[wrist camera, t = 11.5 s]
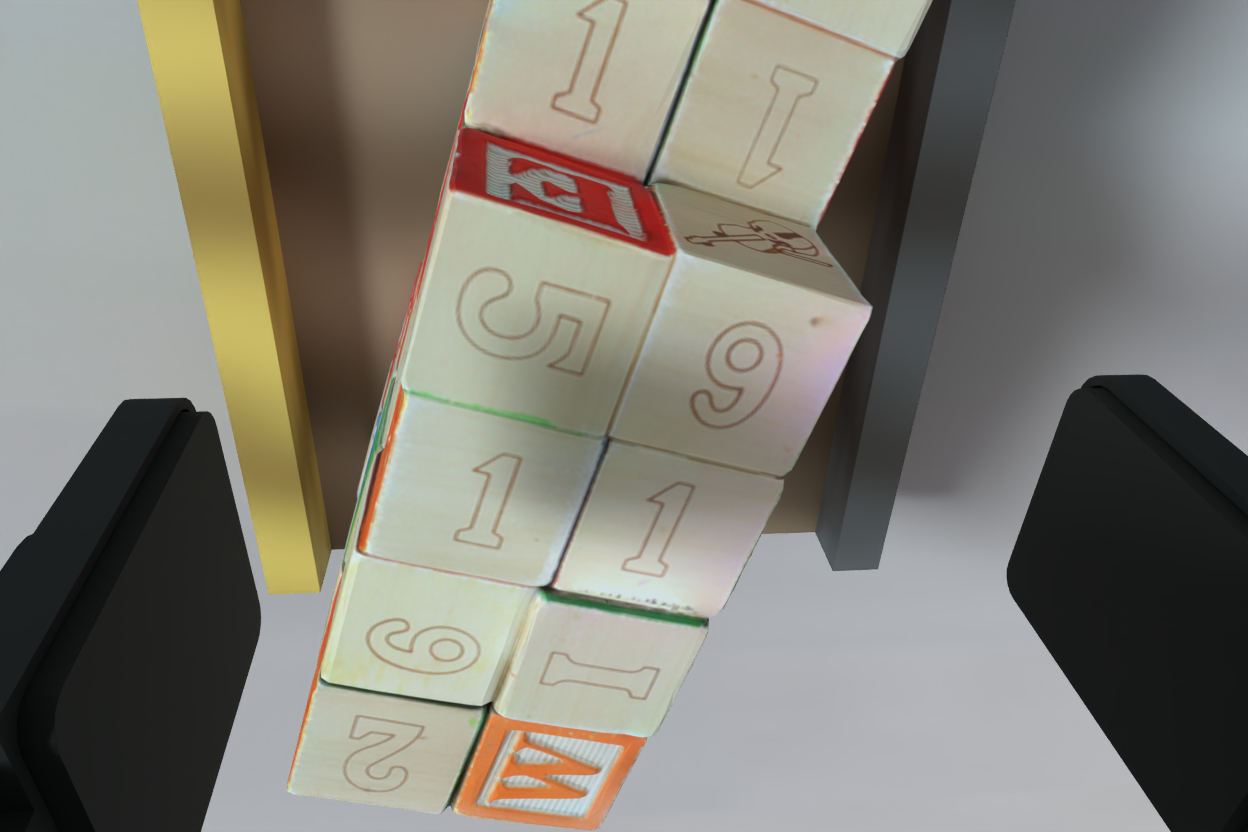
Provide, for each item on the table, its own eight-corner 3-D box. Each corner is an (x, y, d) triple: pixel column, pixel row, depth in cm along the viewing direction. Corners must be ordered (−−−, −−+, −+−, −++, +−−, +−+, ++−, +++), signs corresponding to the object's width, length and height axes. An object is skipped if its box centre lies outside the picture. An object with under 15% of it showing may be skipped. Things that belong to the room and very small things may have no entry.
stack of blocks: (606, -463, 17) (752, -985, 7) (888, -313, 19) (1361, -541, 8) (369, 442, 27) (276, 808, 16) (567, 489, 29) (598, 847, 18)
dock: (121, -500, 18) (2, -611, 14) (1006, -424, 20) (1136, -500, 16) (301, 495, 31) (268, 594, 27) (831, 479, 33) (877, 569, 29)
